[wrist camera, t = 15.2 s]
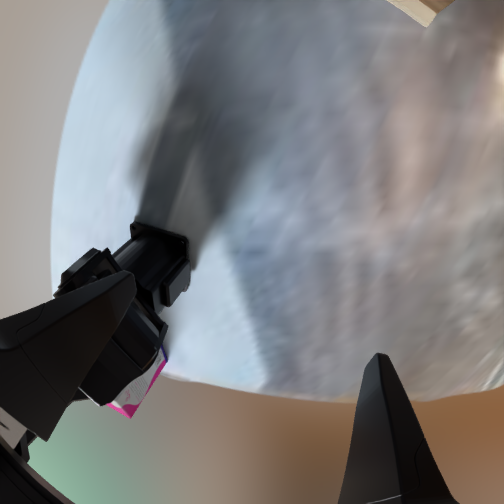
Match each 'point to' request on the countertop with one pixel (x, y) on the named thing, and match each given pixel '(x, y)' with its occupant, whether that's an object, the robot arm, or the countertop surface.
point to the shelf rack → (421, 9)
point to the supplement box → (138, 388)
